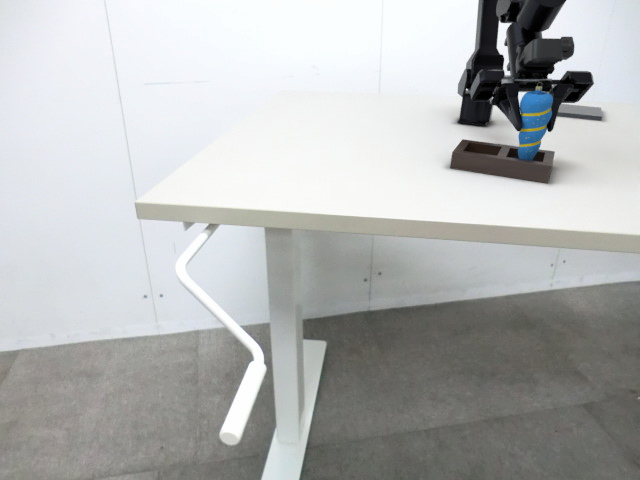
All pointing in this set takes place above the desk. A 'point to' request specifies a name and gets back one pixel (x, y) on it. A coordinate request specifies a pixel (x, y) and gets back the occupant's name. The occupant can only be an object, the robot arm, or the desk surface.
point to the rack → (501, 161)
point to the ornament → (533, 121)
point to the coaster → (580, 112)
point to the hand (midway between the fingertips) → (535, 130)
